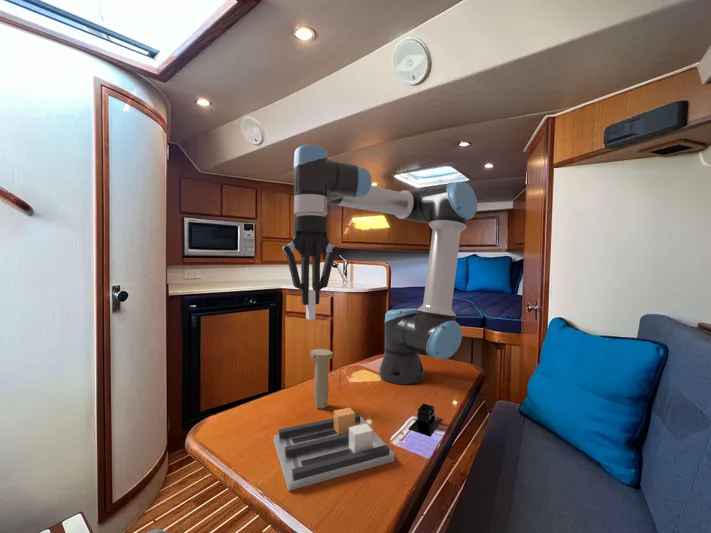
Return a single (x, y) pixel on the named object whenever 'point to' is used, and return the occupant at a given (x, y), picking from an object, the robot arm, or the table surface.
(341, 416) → the toggle
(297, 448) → the slotted rail tray
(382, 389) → the table surface
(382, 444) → the panel
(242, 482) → the table surface
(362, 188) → the robot arm
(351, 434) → the toggle
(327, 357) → the handle
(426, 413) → the black notched stand
